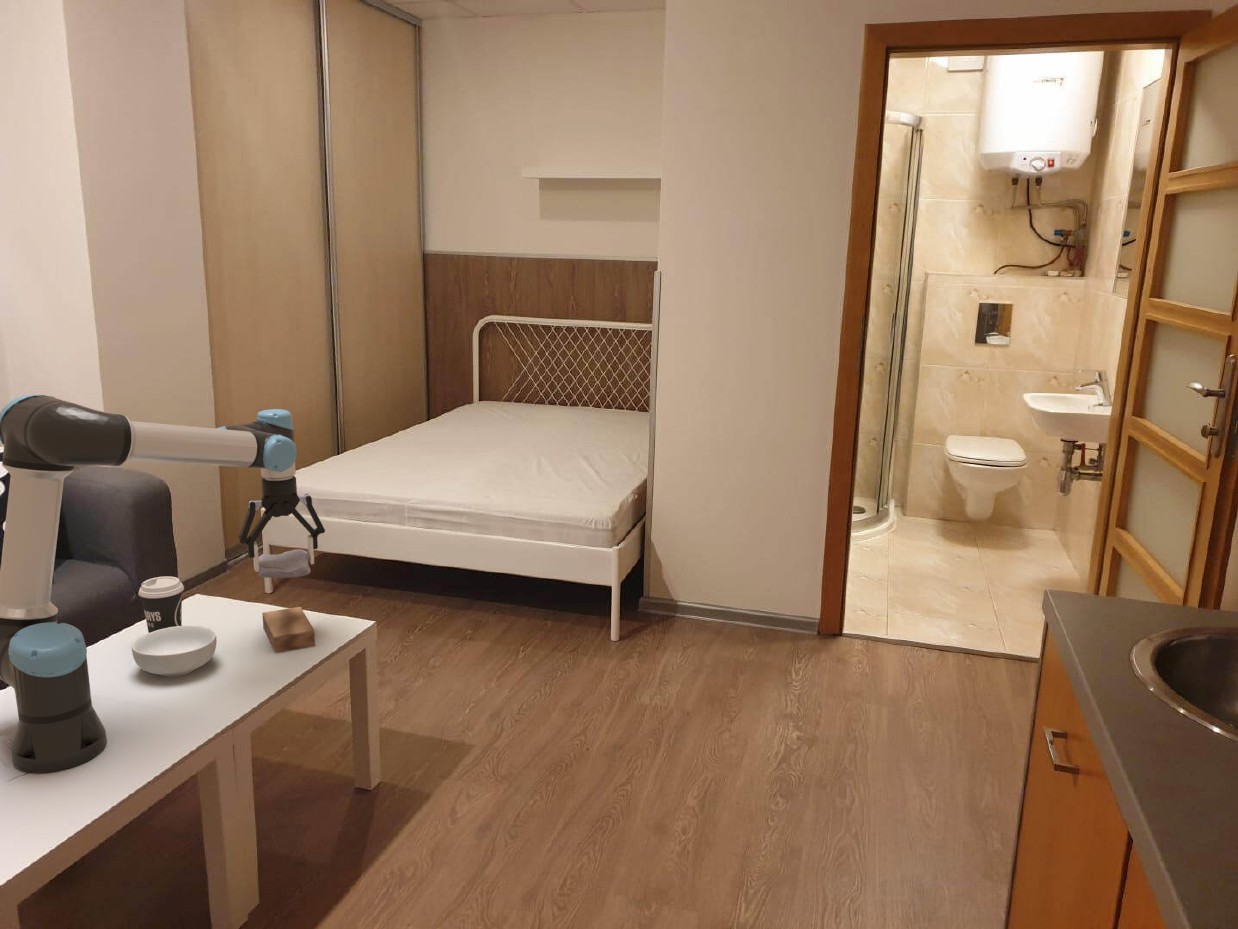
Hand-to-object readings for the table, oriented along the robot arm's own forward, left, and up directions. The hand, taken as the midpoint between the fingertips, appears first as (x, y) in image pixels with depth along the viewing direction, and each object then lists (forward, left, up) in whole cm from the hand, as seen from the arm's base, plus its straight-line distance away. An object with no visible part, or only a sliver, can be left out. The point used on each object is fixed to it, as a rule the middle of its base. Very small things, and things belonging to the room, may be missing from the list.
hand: (284, 566), depth 225 cm
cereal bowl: (-25, -7, -18) cm, 32 cm away
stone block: (0, +1, -2) cm, 2 cm away
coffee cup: (-26, +9, -18) cm, 33 cm away
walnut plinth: (0, 0, -18) cm, 18 cm away
